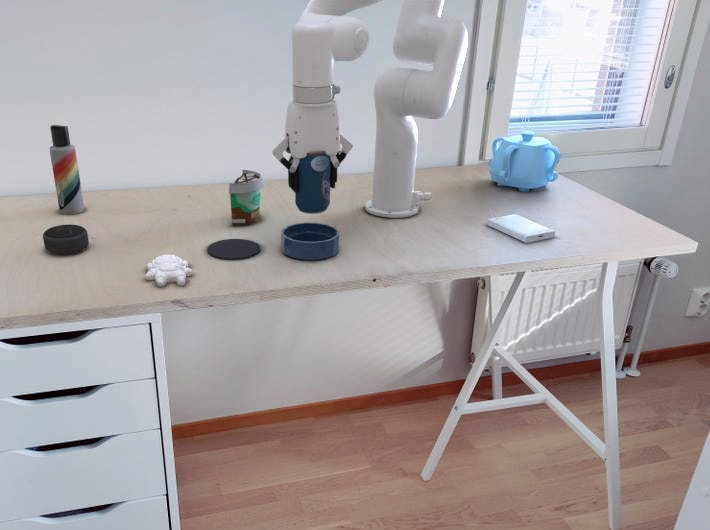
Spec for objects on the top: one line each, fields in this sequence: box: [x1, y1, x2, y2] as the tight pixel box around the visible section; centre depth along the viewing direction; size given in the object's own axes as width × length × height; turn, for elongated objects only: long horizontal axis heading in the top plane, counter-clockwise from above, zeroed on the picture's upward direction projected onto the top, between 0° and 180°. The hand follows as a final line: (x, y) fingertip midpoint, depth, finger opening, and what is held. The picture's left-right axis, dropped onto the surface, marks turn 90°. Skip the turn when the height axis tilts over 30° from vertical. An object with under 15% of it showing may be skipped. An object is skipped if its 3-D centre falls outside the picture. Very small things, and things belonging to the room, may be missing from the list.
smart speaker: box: [42, 223, 90, 256], centre depth 147 cm, size 9×9×4 cm
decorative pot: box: [488, 130, 561, 192], centre depth 184 cm, size 16×16×14 cm
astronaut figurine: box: [144, 254, 193, 288], centre depth 136 cm, size 9×12×3 cm
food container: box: [228, 169, 265, 227], centre depth 161 cm, size 12×6×10 cm, turn 168°
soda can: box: [294, 151, 331, 215], centre depth 140 cm, size 7×7×12 cm
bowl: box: [280, 221, 340, 261], centre depth 146 cm, size 12×12×4 cm
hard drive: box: [486, 213, 556, 244], centre depth 157 cm, size 2×8×12 cm
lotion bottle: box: [49, 124, 85, 215], centre depth 164 cm, size 6×6×20 cm
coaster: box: [206, 238, 261, 261], centre depth 147 cm, size 11×11×1 cm
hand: (312, 187), depth 141 cm, fingers closed on soda can, 7 cm apart
